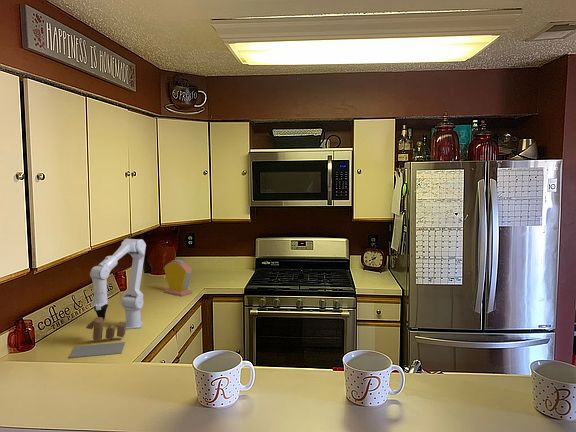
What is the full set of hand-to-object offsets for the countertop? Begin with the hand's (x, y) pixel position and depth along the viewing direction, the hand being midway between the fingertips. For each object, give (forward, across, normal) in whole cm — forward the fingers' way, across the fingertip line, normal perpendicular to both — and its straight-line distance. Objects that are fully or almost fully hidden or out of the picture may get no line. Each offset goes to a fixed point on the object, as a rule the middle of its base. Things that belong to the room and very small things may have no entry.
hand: (101, 321), depth 216 cm
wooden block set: (+7, -1, +1) cm, 7 cm away
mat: (+9, +13, 0) cm, 16 cm away
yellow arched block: (+9, -79, +34) cm, 86 cm away
